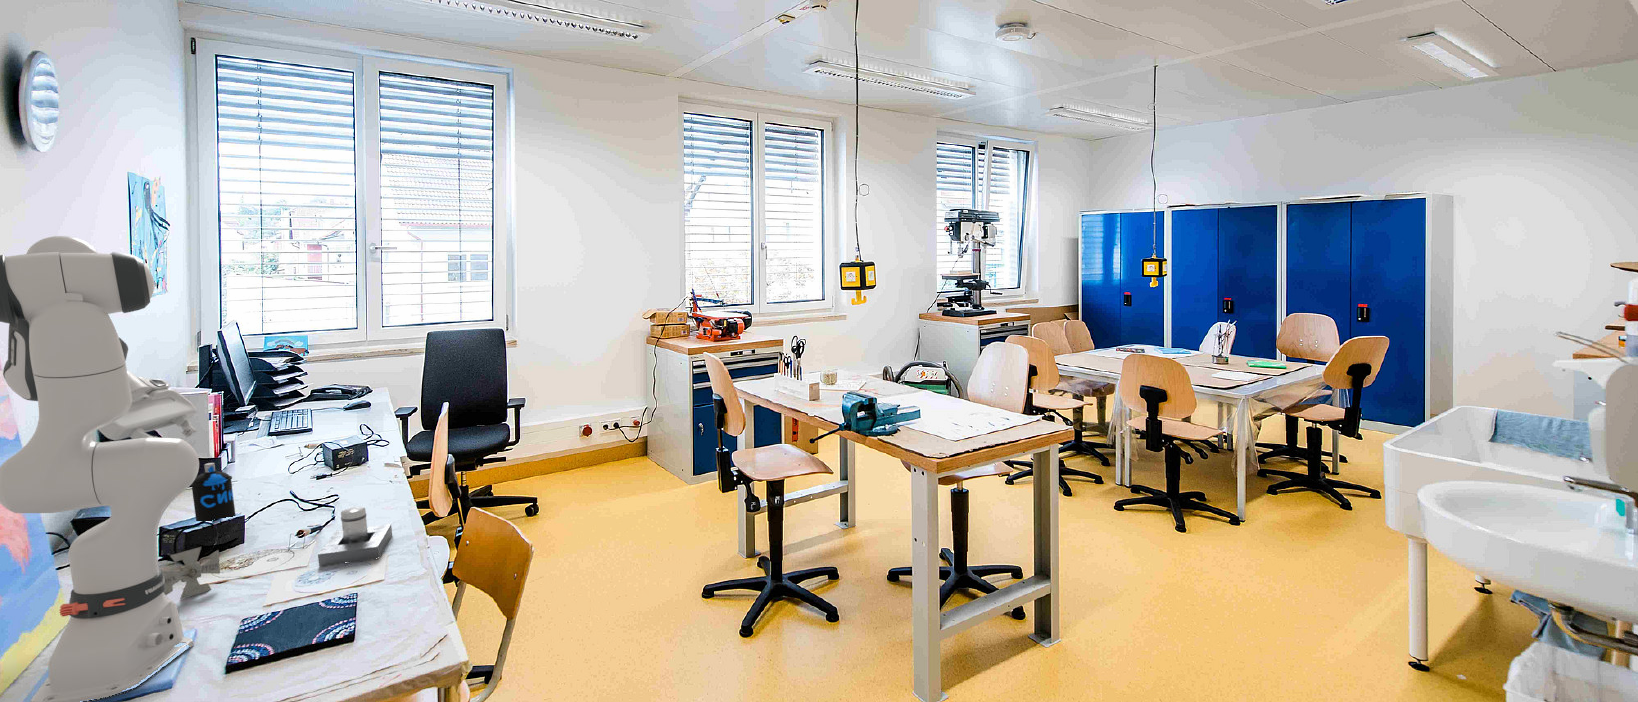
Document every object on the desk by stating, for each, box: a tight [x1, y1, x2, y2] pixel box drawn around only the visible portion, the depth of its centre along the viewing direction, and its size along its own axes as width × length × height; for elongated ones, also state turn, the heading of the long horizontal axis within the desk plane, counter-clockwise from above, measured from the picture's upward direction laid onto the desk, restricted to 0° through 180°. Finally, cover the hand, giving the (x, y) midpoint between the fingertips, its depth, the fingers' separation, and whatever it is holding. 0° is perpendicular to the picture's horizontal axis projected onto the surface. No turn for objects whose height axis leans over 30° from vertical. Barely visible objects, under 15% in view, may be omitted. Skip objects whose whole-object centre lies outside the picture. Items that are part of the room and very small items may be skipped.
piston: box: [340, 506, 369, 544], centre depth 179 cm, size 5×5×10 cm
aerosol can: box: [190, 462, 236, 522], centre depth 187 cm, size 8×8×20 cm
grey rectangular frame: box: [317, 523, 393, 567], centre depth 180 cm, size 16×12×3 cm
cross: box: [162, 546, 221, 600], centre depth 156 cm, size 10×3×10 cm, turn 152°
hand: (175, 439), depth 163 cm, fingers open, 8 cm apart
